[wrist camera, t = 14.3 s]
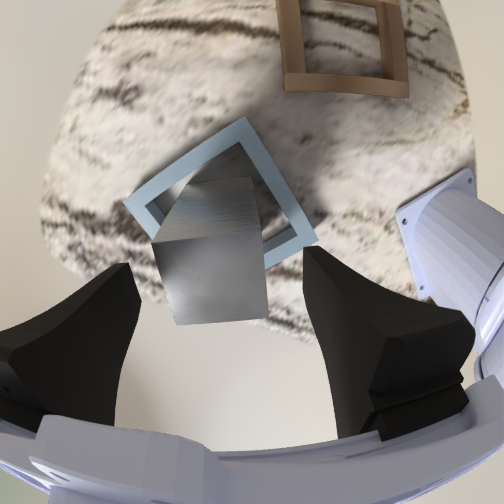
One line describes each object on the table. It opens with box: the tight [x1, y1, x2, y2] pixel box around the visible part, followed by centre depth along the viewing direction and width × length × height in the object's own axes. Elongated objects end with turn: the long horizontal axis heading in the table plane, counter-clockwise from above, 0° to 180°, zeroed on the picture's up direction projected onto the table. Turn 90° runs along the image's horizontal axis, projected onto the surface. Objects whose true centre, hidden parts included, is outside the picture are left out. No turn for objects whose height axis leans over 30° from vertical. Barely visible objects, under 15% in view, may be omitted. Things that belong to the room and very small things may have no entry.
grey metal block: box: [151, 176, 269, 325], centre depth 14 cm, size 4×4×8 cm
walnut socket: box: [276, 0, 409, 98], centre depth 12 cm, size 7×7×2 cm
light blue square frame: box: [123, 116, 319, 269], centre depth 17 cm, size 9×9×2 cm
